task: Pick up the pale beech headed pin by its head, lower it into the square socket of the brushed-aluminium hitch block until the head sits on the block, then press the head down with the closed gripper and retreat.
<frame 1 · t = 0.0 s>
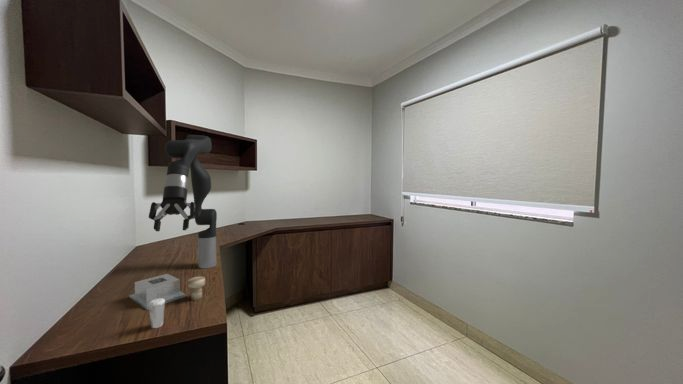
hand: (171, 230, 91), 31 cm above the table, tool tilted 20°, fingers open, 8 cm apart
beech pin: (196, 297, 107), on the table
hitch block: (157, 297, 107), on the table
milkshake: (157, 325, 87), on the table
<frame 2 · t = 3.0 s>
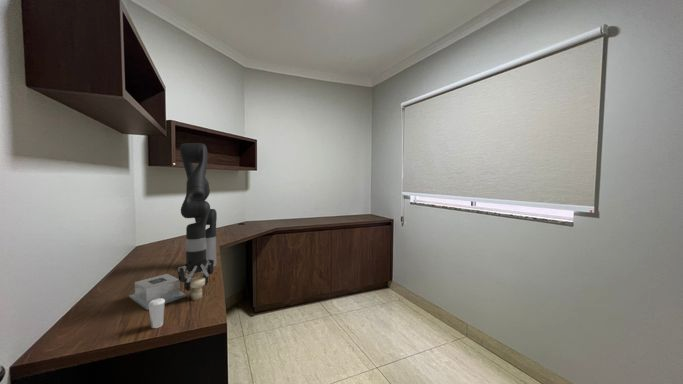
hand: (196, 287, 107), 4 cm above the table, tool pointing down, fingers closed on beech pin, 6 cm apart
beech pin: (196, 298, 107), on the table, touching gripper
everything else where it was.
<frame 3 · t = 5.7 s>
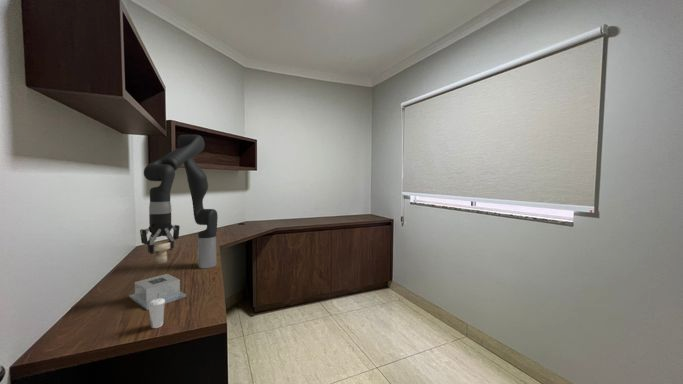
hand: (161, 251, 107), 20 cm above the table, tool pointing down, fingers closed on beech pin, 6 cm apart
beech pin: (161, 262, 107), point 15 cm above the table, touching gripper
everything else where it was.
when the fingers open (7 cm above the table, at t = 8.6 s): beech pin drops 1 cm, resting on hitch block.
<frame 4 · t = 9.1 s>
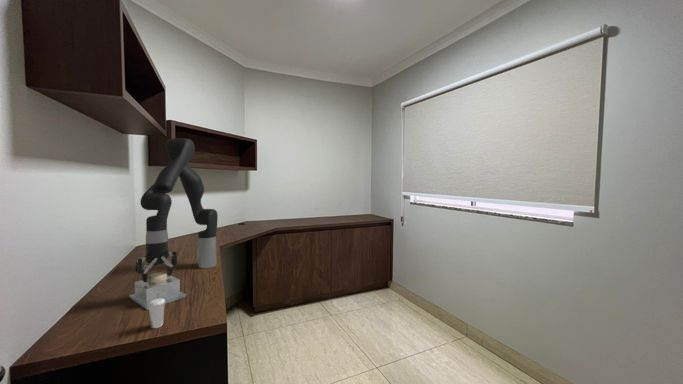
hand: (157, 278, 107), 8 cm above the table, tool pointing down, fingers open, 8 cm apart
beech pin: (158, 293, 108), point 1 cm above the table, touching hitch block
everything else where it was.
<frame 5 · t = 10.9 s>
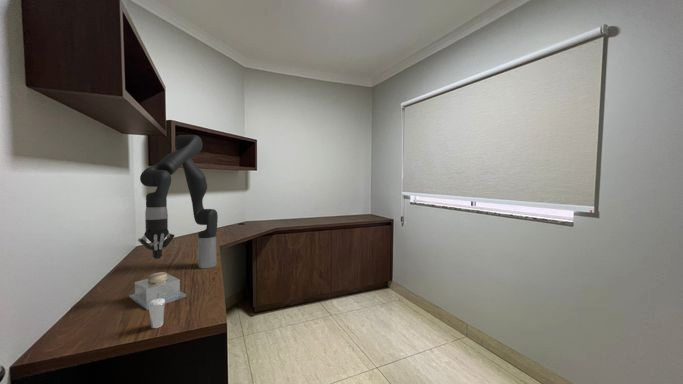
hand: (157, 258, 107), 17 cm above the table, tool pointing down, fingers closed
nothing on the table moved.
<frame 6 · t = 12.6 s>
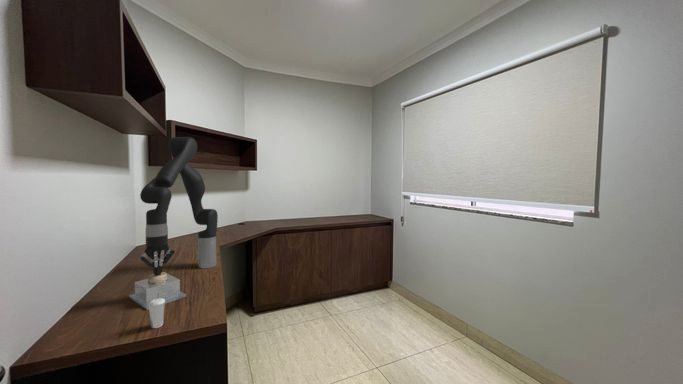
hand: (157, 274, 107), 10 cm above the table, tool pointing down, fingers closed
beech pin: (158, 293, 108), point 1 cm above the table, touching gripper, hitch block
everything else where it was.
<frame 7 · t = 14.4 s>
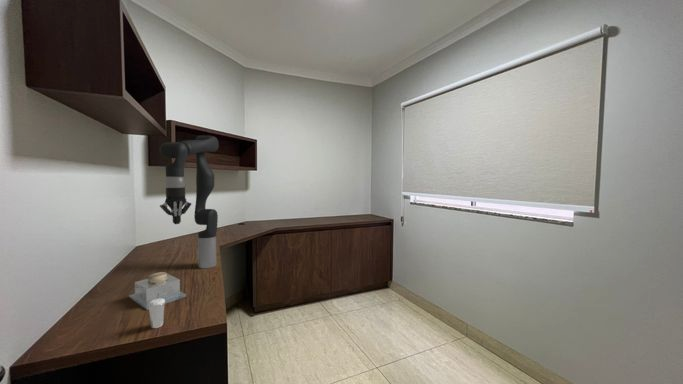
hand: (176, 223, 118), 29 cm above the table, tool pointing down, fingers closed
beech pin: (158, 293, 108), point 1 cm above the table, touching hitch block
everything else where it was.
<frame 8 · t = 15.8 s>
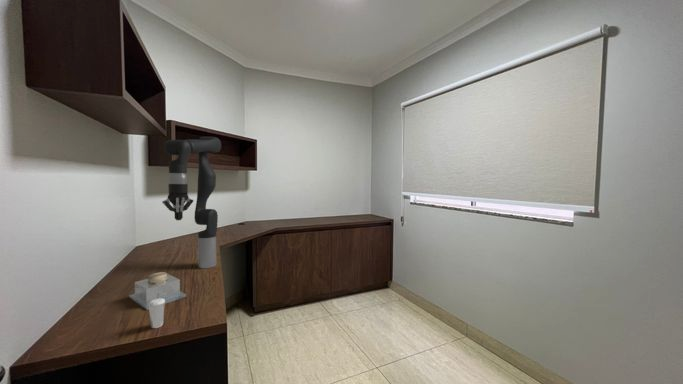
hand: (178, 220, 119), 31 cm above the table, tool pointing down, fingers closed
nothing on the table moved.
at the end: beech pin 0.1 cm off-centre on the hitch block, point 1.5 cm above the hitch block's base; beech pin tilted 0°; the gripper is holding nothing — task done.
